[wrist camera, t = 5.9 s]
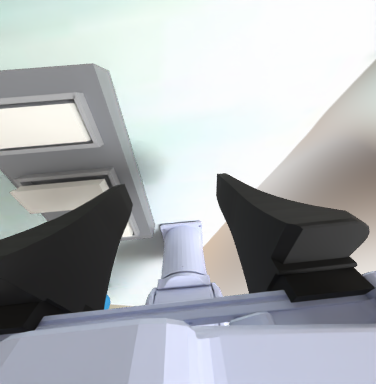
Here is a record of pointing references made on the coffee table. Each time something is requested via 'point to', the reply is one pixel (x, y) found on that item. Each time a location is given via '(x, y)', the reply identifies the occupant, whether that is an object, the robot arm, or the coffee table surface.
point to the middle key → (58, 195)
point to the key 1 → (41, 126)
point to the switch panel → (78, 151)
